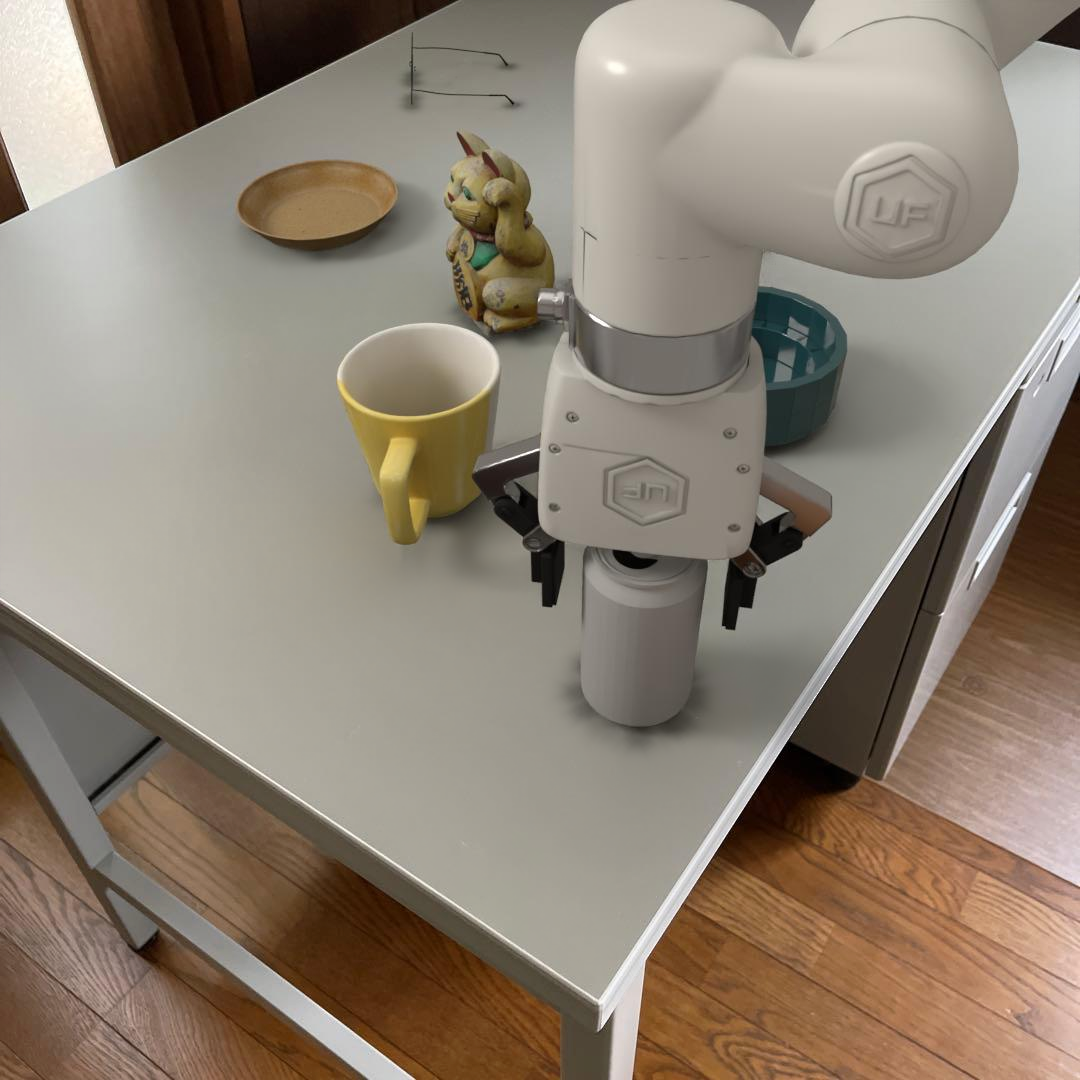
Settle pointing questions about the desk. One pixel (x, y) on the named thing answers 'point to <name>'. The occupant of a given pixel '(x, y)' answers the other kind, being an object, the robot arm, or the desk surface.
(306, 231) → the plant saucer
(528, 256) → the decorative figurine
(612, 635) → the beverage can
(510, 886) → the desk surface
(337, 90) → the desk surface
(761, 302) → the bowl
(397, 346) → the mug
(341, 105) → the desk surface
